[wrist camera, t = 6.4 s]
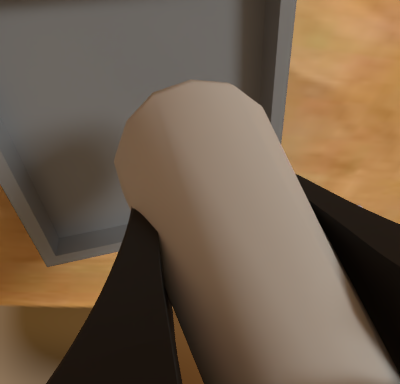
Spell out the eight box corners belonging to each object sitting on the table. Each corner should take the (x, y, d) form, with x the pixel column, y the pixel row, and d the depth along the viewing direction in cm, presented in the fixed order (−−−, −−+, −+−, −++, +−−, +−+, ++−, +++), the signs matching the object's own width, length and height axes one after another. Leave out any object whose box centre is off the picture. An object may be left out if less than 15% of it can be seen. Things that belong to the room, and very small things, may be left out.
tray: (259, 197, 24) (272, 217, 22) (52, 240, 22) (47, 267, 20) (277, -60, 15) (303, -65, 13) (-88, -35, 12) (-125, -36, 10)
